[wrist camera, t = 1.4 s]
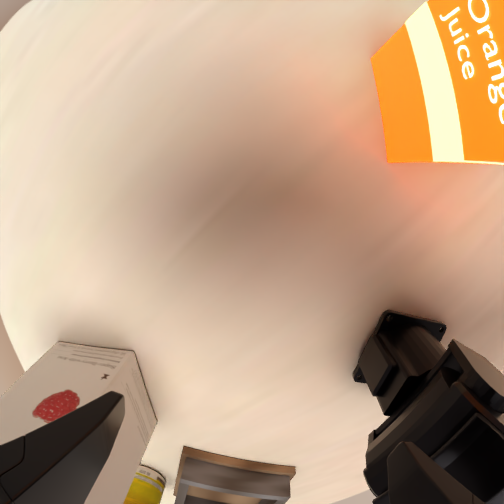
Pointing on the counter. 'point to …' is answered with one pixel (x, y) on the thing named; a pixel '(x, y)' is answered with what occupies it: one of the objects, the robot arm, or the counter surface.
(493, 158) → the orange juice
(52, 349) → the supplement box
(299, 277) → the counter surface
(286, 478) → the tray
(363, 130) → the counter surface
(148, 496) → the supplement bottle
